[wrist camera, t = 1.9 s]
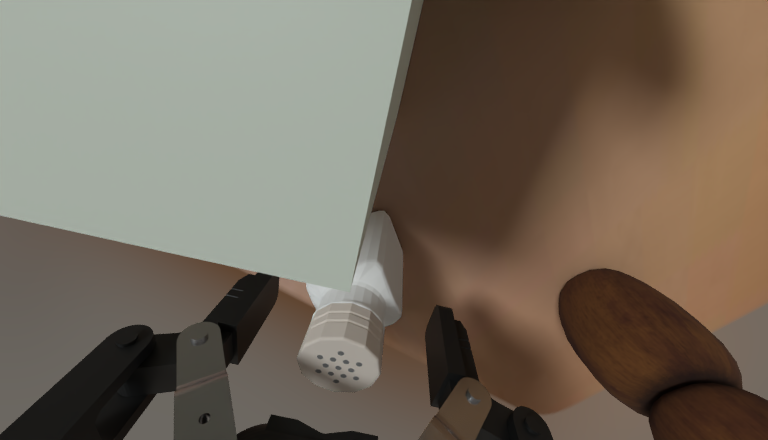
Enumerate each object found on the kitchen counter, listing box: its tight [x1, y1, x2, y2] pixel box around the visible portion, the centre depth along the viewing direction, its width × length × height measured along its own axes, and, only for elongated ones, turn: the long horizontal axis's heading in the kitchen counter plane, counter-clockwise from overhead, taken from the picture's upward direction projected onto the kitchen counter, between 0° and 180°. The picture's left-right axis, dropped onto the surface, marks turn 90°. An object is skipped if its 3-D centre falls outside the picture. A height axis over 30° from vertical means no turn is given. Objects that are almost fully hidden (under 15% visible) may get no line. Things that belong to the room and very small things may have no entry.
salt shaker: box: [297, 211, 403, 392], centre depth 14 cm, size 4×4×10 cm
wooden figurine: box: [559, 269, 768, 440], centre depth 12 cm, size 7×6×15 cm
